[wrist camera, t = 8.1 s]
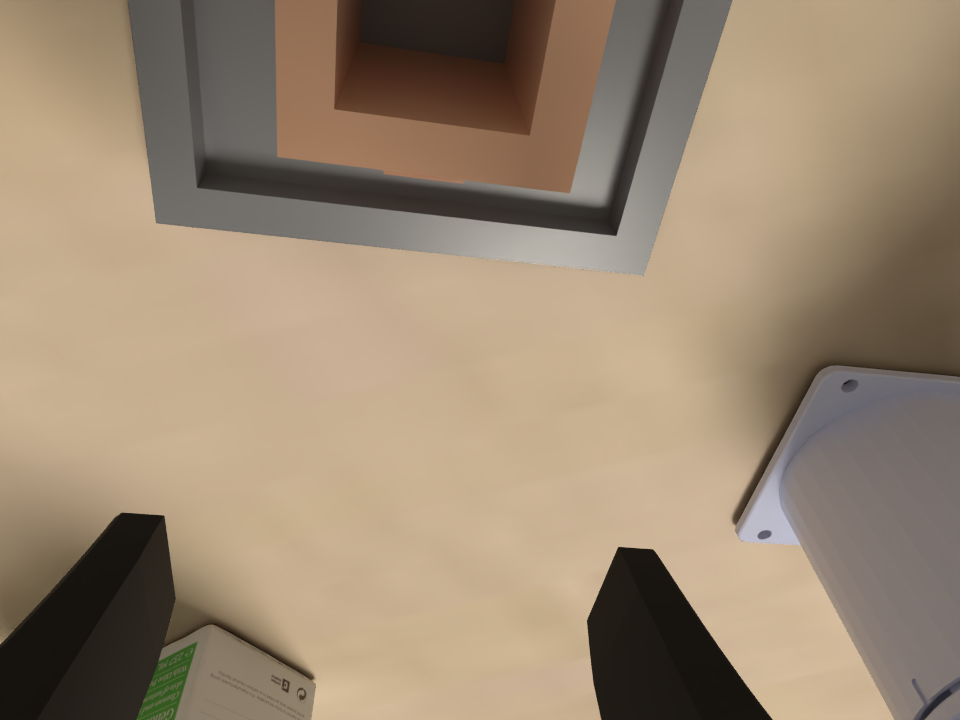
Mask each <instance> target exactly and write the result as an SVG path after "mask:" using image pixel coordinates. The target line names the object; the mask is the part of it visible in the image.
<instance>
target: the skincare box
mask: <svg viewBox="0 0 960 720" xmlns="http://www.w3.org/2000/svg"><path fill="white" fill-rule="evenodd" d="M315 689H316V684H315V683H314V682H313V681H311V680H310V679H308V678H307V677H305V676H304V675H302V674H300V673H299V672H297V671H295V670H294V669H292V668H290V667H288V666H287V665H285V664H283V663H282V662H280V661H278V660H276V659H275V658H273V657H271V656H270V655H268V654H266V653H265V652H263V651H261V650H259V649H257V648H256V647H254V646H252V645H250V644H249V643H247V642H245V641H243V640H241V639H240V638H238V637H236V636H234V635H232V634H231V633H229V632H227V631H225V630H223V629H221V628H219V627H217V626H215V625H212V624H211V625H206V626H204V627H202V628H200V629H198V630H196V631H195V632H193V633H192V634H190V635H188V636H187V637H184V638H182V639H180V640H178V641H176V642H174V643H172V644H170V645H168V646H166V647H164V648H162V651H161V654H160V658H159V661H158V665H157V668H156V670H155V673H154V676H153V678H152V681H151V683H150V686H149V689H148V691H147V694H146V696H145V699H144V701H143V704H142V706H141V709H140V712H139V714H138V717H137V719H136V720H311V717H312V710H313V703H314V695H315Z"/></svg>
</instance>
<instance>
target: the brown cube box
mask: <svg viewBox="0 0 960 720" xmlns="http://www.w3.org/2000/svg"><path fill="white" fill-rule="evenodd" d="M615 3H616V0H514V6H513V12H512V18H511V24H510V30H509V36H508V43H507V49H506V55H505V61H504V64H502V63H496V62H489V61H482V60H475V59H469V58H462V57H455V56H448V55H442V54H435V53H428V52H421V51H415V50H408V49H401V48H395V47H388V46H381V45H374V44H368V43H361V42H360V30H361V9H362V0H275V48H276V109H277V157H281V158H289V159H297V160H305V161H313V162H321V163H329V164H337V165H345V166H353V167H362V168H370V169H378V170H384V173H383V174H388V175H396V176H404V177H412V178H420V179H428V180H436V181H444V182H452V183H460V184H464V180H466V181H474V182H482V183H490V184H498V185H506V186H514V187H522V188H530V189H538V190H546V191H554V192H562V193H570V192H571V188H572V184H573V179H574V175H575V171H576V167H577V163H578V158H579V154H580V150H581V146H582V141H583V137H584V133H585V129H586V125H587V120H588V116H589V112H590V108H591V104H592V99H593V95H594V91H595V87H596V83H597V78H598V74H599V70H600V66H601V61H602V57H603V53H604V49H605V45H606V40H607V36H608V32H609V28H610V24H611V19H612V15H613V11H614V7H615Z"/></svg>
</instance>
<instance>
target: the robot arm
mask: <svg viewBox="0 0 960 720" xmlns="http://www.w3.org/2000/svg"><path fill="white" fill-rule="evenodd" d="M848 380H850V381H849V382H848V383H846V384H845V385H843V384H844V383H845V382H846V381H848ZM735 531H736V533H737V536H738V538H739V539H740V540H741V541H744V542H753V543H771V544H789V545H801V547H802V548H803V550H804V552H805V554H806V556H807V558H808V560H809V561H810V563H811V565H812V567H813V569H814V571H815V573H816V574H817V576H818V578H819V580H820V582H821V584H822V586H823V587H824V589H825V591H826V593H827V595H828V597H829V599H830V600H831V602H832V604H833V606H834V608H835V610H836V612H837V613H838V615H839V617H840V619H841V621H842V623H843V625H844V626H845V628H846V630H847V632H848V634H849V636H850V638H851V640H852V641H853V643H854V645H855V647H856V649H857V651H858V653H859V654H860V656H861V658H862V660H863V662H864V664H865V666H866V667H867V669H868V671H869V673H870V675H871V677H872V679H873V680H874V682H875V684H876V686H877V688H878V690H879V692H880V693H881V695H882V697H883V699H884V701H885V703H886V705H887V706H888V708H889V710H890V712H891V714H892V716H893V718H894V719H895V720H960V377H956V376H946V375H935V374H924V373H914V372H903V371H892V370H881V369H871V368H860V367H849V366H839V365H835V366H829V367H826V368H824V369H822V370H821V371H820V372H819V373H818V374H817V375H816V377H815V378H814V380H813V382H812V384H811V386H810V388H809V390H808V391H807V393H806V395H805V397H804V399H803V401H802V403H801V405H800V406H799V408H798V410H797V412H796V414H795V416H794V418H793V420H792V421H791V423H790V425H789V427H788V429H787V431H786V433H785V435H784V437H783V438H782V440H781V442H780V444H779V446H778V448H777V450H776V452H775V453H774V455H773V457H772V459H771V461H770V463H769V465H768V467H767V468H766V470H765V472H764V474H763V476H762V478H761V480H760V482H759V483H758V485H757V487H756V489H755V491H754V493H753V495H752V497H751V498H750V500H749V502H748V504H747V506H746V508H745V510H744V512H743V513H742V515H741V517H740V519H739V521H738V523H737V525H736V527H735ZM175 599H176V598H175V591H174V584H173V576H172V569H171V561H170V554H169V547H168V539H167V532H166V524H165V517H164V516H162V515H148V514H133V513H121V514H120V515H118V516H116V517H115V518H114V519H113V521H112V522H111V523H110V524H109V525H108V527H107V528H106V529H105V530H104V531H103V533H102V534H101V535H100V536H99V537H98V538H97V540H96V541H95V542H94V543H93V544H92V545H91V547H90V548H89V549H88V550H87V551H86V552H85V554H84V555H83V556H82V557H81V558H80V559H79V560H78V562H77V563H76V564H75V565H74V566H73V567H72V568H71V570H70V571H69V572H68V573H67V574H66V575H65V576H64V577H63V578H62V580H61V581H60V582H59V583H58V584H57V585H56V586H55V587H54V588H53V590H52V591H51V592H50V593H49V594H48V595H47V596H46V597H45V598H44V599H43V600H42V601H41V603H40V604H39V605H38V606H37V607H36V608H35V609H34V610H33V611H32V612H31V613H30V614H29V615H28V616H27V617H26V618H25V619H24V620H23V622H22V623H21V624H20V625H19V626H18V627H17V628H16V629H15V630H14V631H13V632H12V633H11V634H10V635H9V636H8V637H7V638H6V639H5V640H4V642H3V643H2V644H1V645H0V720H136V719H137V717H138V714H139V712H140V709H141V706H142V704H143V701H144V699H145V696H146V694H147V691H148V689H149V686H150V683H151V681H152V678H153V676H154V673H155V670H156V668H157V665H158V661H159V658H160V654H161V651H162V647H163V644H164V640H165V637H166V633H167V629H168V625H169V621H170V618H171V614H172V610H173V606H174V602H175ZM587 625H588V636H589V646H590V656H591V665H592V673H593V682H594V687H595V692H596V697H597V701H598V706H599V710H600V715H601V720H772V718H771V717H770V716H769V715H768V713H767V712H766V711H765V709H764V708H763V707H762V706H761V704H760V703H759V702H758V700H757V699H756V698H755V696H754V695H753V693H752V692H751V691H750V689H749V688H748V687H747V685H746V684H745V683H744V681H743V680H742V679H741V677H740V676H739V674H738V673H737V672H736V670H735V669H734V667H733V666H732V665H731V663H730V662H729V660H728V659H727V658H726V656H725V655H724V653H723V652H722V651H721V649H720V648H719V646H718V645H717V644H716V642H715V641H714V639H713V638H712V636H711V635H710V633H709V632H708V630H707V629H706V628H705V626H704V625H703V623H702V622H701V620H700V619H699V617H698V616H697V614H696V613H695V611H694V610H693V608H692V607H691V605H690V604H689V602H688V601H687V599H686V598H685V596H684V595H683V593H682V592H681V590H680V589H679V587H678V585H677V584H676V582H675V581H674V579H673V578H672V576H671V575H670V573H669V572H668V570H667V569H666V567H665V566H664V564H663V563H662V561H661V560H660V558H659V557H658V555H657V554H656V552H655V551H654V550H653V549H639V548H625V547H618V549H617V551H616V554H615V556H614V558H613V561H612V563H611V566H610V568H609V570H608V573H607V575H606V577H605V580H604V582H603V584H602V587H601V589H600V591H599V594H598V596H597V598H596V601H595V603H594V605H593V608H592V610H591V612H590V615H589V617H588V620H587Z"/></svg>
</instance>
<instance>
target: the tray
mask: <svg viewBox="0 0 960 720" xmlns="http://www.w3.org/2000/svg"><path fill="white" fill-rule="evenodd" d="M731 3H732V0H616V3H615V7H614V11H613V15H612V19H611V24H610V28H609V32H608V36H607V40H606V45H605V49H604V53H603V57H602V61H601V66H600V70H599V74H598V78H597V83H596V87H595V91H594V95H593V99H592V104H591V108H590V112H589V116H588V120H587V125H586V129H585V133H584V137H583V141H582V146H581V150H580V154H579V158H578V163H577V167H576V171H575V175H574V179H573V184H572V188H571V192H570V193H562V192H554V191H546V190H538V189H530V188H522V187H514V186H506V185H498V184H490V183H482V182H474V181H466V180H464V184H460V183H452V182H444V181H436V180H428V179H420V178H412V177H404V176H396V175H388V174H383V173H384V170H378V169H370V168H362V167H353V166H345V165H337V164H329V163H321V162H313V161H305V160H297V159H289V158H281V157H277V109H276V48H275V0H128V7H129V15H130V23H131V30H132V38H133V46H134V54H135V62H136V69H137V77H138V85H139V93H140V100H141V108H142V116H143V124H144V132H145V139H146V147H147V155H148V163H149V171H150V178H151V186H152V194H153V202H154V210H155V217H156V223H159V224H168V225H178V226H187V227H196V228H205V229H215V230H224V231H233V232H243V233H252V234H261V235H270V236H280V237H289V238H298V239H308V240H317V241H326V242H336V243H345V244H354V245H363V246H373V247H382V248H391V249H401V250H410V251H419V252H428V253H438V254H447V255H456V256H466V257H475V258H484V259H494V260H503V261H512V262H521V263H531V264H540V265H549V266H559V267H568V268H577V269H586V270H596V271H605V272H614V273H624V274H633V275H642V276H644V274H645V270H646V267H647V264H648V261H649V258H650V255H651V252H652V249H653V246H654V242H655V239H656V236H657V233H658V230H659V227H660V224H661V221H662V218H663V214H664V211H665V208H666V205H667V202H668V199H669V196H670V193H671V190H672V186H673V183H674V180H675V177H676V174H677V171H678V168H679V165H680V162H681V158H682V155H683V152H684V149H685V146H686V143H687V140H688V137H689V134H690V131H691V127H692V124H693V121H694V118H695V115H696V112H697V109H698V106H699V103H700V99H701V96H702V93H703V90H704V87H705V84H706V81H707V78H708V75H709V71H710V68H711V65H712V62H713V59H714V56H715V53H716V50H717V47H718V43H719V40H720V37H721V34H722V31H723V28H724V25H725V22H726V19H727V16H728V12H729V9H730V6H731ZM513 6H514V0H362V9H361V30H360V42H361V43H368V44H374V45H381V46H388V47H395V48H401V49H408V50H415V51H421V52H428V53H435V54H442V55H448V56H455V57H462V58H469V59H475V60H482V61H489V62H496V63H502V64H504V61H505V55H506V49H507V43H508V36H509V30H510V24H511V18H512V12H513Z"/></svg>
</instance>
